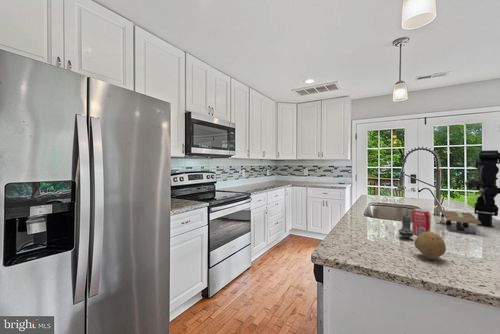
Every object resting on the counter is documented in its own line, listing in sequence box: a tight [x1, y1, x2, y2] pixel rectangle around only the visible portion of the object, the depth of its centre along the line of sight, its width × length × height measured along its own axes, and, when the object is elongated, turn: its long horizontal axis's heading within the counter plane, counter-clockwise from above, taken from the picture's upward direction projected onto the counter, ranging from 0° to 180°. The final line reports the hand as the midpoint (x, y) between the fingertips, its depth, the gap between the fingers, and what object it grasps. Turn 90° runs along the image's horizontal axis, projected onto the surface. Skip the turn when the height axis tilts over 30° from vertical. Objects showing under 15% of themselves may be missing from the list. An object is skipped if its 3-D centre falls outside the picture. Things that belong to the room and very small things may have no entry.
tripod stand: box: [444, 219, 477, 236], centre depth 120 cm, size 16×10×5 cm, turn 146°
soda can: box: [411, 208, 432, 236], centre depth 110 cm, size 7×7×12 cm
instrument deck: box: [441, 210, 481, 225], centre depth 120 cm, size 22×12×2 cm, turn 146°
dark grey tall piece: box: [398, 212, 415, 242], centre depth 104 cm, size 6×6×12 cm
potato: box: [413, 231, 447, 261], centre depth 83 cm, size 9×9×10 cm
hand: (487, 205), depth 116 cm, fingers closed
